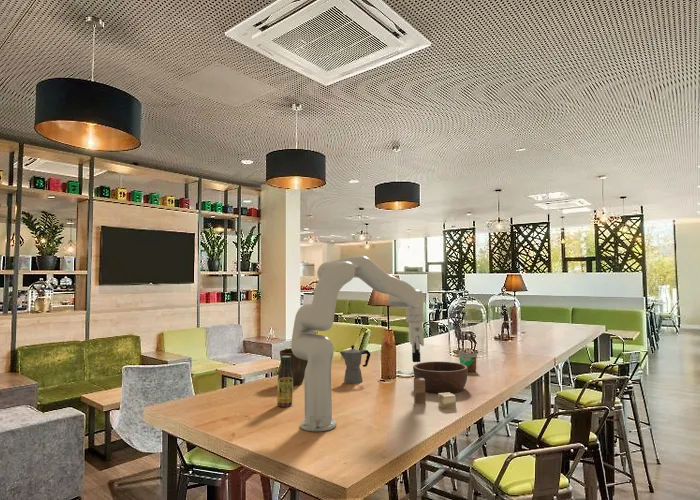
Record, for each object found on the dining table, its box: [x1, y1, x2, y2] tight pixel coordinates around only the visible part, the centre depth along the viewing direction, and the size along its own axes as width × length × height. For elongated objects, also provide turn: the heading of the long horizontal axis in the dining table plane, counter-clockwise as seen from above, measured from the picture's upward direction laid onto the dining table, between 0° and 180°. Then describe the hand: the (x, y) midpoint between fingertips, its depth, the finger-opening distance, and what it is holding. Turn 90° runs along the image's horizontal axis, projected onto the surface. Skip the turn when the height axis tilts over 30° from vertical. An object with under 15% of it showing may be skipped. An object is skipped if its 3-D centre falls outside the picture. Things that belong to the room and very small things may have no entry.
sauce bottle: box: [276, 356, 294, 408], centre depth 186 cm, size 6×6×20 cm
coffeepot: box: [339, 344, 371, 385], centre depth 227 cm, size 15×9×18 cm, turn 87°
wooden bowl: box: [412, 361, 469, 394], centre depth 210 cm, size 25×25×10 cm
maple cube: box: [437, 392, 457, 410], centre depth 180 cm, size 5×5×5 cm
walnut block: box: [413, 377, 427, 406], centre depth 185 cm, size 4×4×10 cm
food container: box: [458, 350, 478, 373], centre depth 248 cm, size 12×6×10 cm, turn 25°
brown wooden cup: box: [279, 348, 308, 386], centre depth 225 cm, size 15×15×16 cm
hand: (416, 361), depth 194 cm, fingers closed
